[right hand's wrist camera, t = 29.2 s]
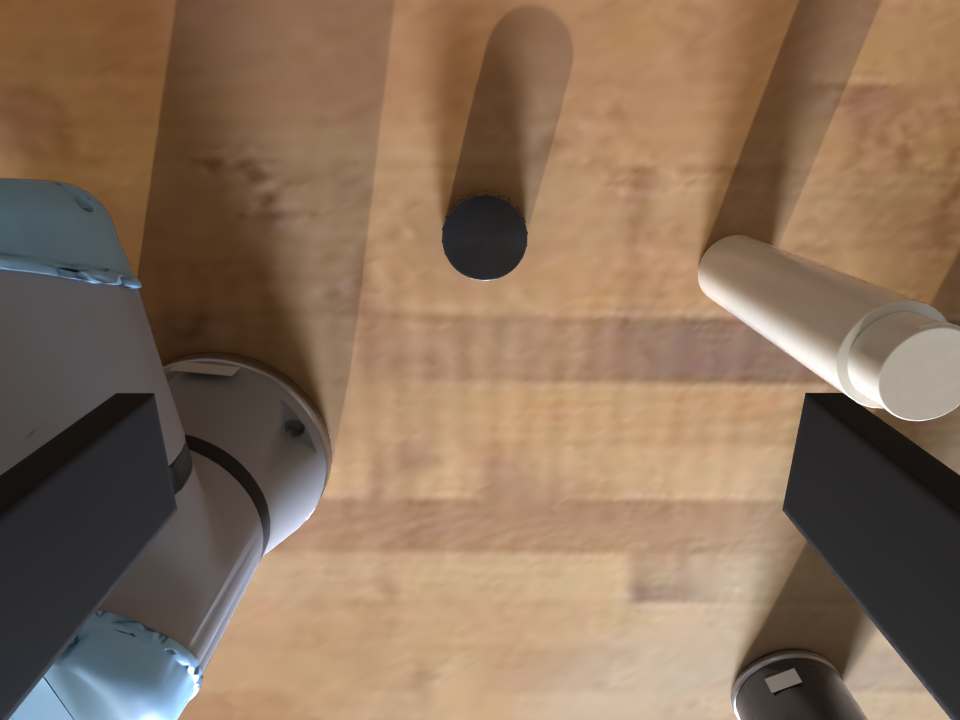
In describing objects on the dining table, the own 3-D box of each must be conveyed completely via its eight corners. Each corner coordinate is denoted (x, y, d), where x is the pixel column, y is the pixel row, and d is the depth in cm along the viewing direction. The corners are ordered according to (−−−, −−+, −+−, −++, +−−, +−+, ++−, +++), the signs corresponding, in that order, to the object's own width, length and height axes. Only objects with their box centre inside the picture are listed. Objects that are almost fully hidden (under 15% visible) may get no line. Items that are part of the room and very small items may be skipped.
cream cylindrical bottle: (770, 294, 42) (992, 416, 24) (702, 310, 42) (868, 442, 24) (764, 227, 40) (997, 302, 22) (693, 244, 41) (864, 332, 23)
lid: (465, 175, 39) (465, 177, 37) (540, 215, 40) (544, 219, 38) (429, 250, 41) (426, 257, 39) (502, 287, 42) (503, 296, 39)
